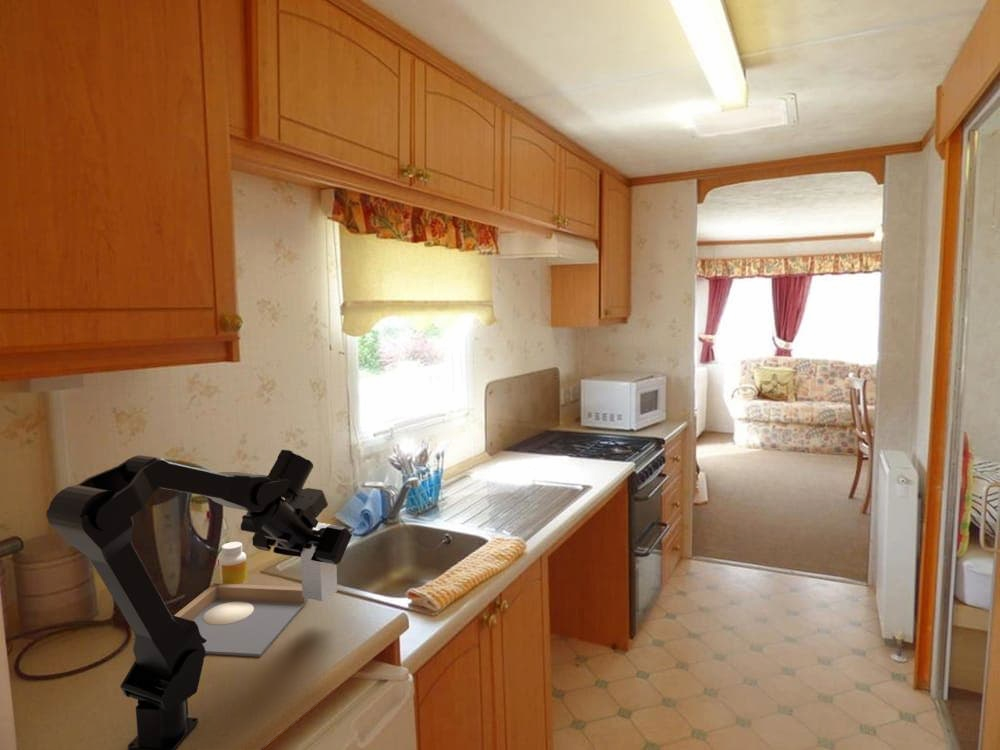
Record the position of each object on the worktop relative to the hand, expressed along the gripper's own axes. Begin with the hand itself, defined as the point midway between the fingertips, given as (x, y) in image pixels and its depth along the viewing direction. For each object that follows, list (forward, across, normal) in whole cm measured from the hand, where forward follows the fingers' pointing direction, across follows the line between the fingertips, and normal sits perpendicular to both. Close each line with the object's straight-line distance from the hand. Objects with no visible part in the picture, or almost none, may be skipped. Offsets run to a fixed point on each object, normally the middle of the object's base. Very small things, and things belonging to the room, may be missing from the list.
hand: (323, 557), depth 116 cm
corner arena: (+3, +15, +14) cm, 21 cm away
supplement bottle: (+11, +27, +7) cm, 30 cm away
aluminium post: (+4, 0, +6) cm, 7 cm away
